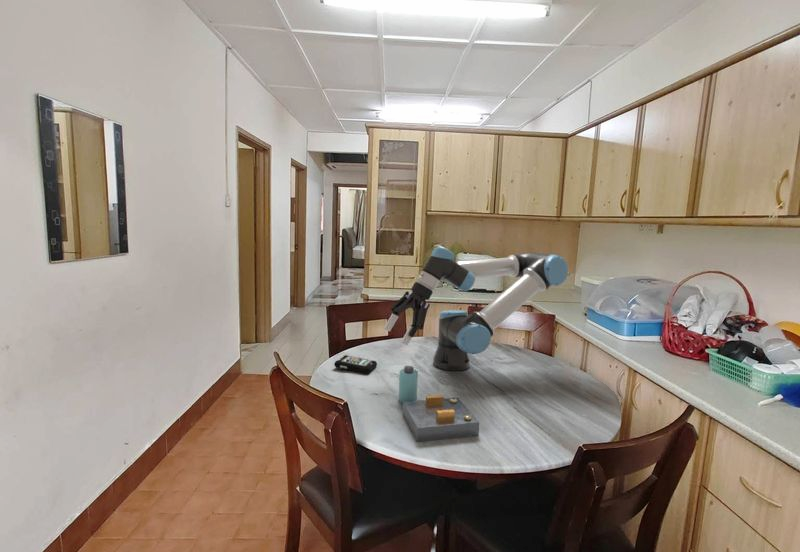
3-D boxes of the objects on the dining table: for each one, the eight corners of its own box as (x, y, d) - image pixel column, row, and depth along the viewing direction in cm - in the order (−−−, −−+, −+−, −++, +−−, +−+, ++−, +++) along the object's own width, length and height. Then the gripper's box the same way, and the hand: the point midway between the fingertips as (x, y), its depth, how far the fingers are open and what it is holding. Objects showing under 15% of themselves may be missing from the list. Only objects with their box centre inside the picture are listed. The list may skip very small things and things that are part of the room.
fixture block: (457, 409, 129) (458, 390, 128) (478, 435, 114) (479, 413, 113) (402, 414, 125) (403, 394, 124) (417, 441, 110) (418, 419, 109)
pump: (413, 396, 138) (415, 363, 137) (418, 403, 132) (420, 370, 131) (396, 397, 137) (397, 364, 135) (401, 405, 131) (402, 371, 129)
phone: (368, 376, 155) (368, 365, 154) (332, 370, 159) (332, 360, 159) (377, 366, 165) (377, 356, 165) (343, 362, 169) (343, 351, 169)
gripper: (401, 273, 155) (372, 321, 154) (436, 290, 134) (404, 346, 133) (414, 281, 159) (387, 328, 158) (451, 300, 138) (419, 354, 137)
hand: (394, 336), depth 146 cm, fingers open, 13 cm apart
